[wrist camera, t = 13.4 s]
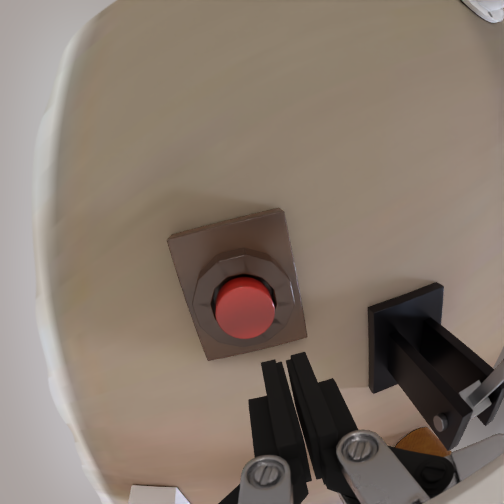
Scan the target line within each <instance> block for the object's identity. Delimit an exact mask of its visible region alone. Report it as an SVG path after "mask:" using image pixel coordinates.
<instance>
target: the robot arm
mask: <svg viewBox="0 0 504 504" xmlns="http://www.w3.org/2000/svg"><path fill="white" fill-rule="evenodd" d="M462 1H463V2H464V3H465V4H466V5H467V6H468V7H469V8H470V9H471V10H472V11H474V12H475V13H476V14H477V15H479V16H480V17H482V18H483V19H485V20H487V21H489V22H492V23H496V22H499V21H501V20H502V19H503V16H504V12H503V7H504V0H462ZM286 363H287V368H288V373H289V377H290V382H291V387H292V392H293V397H294V401H295V406H296V410H297V414H298V417H297V414H296V410H295V407H294V403H293V400H292V396H291V393H290V389H289V386H288V382H287V379H286V375H285V372H284V368H283V365H282V362H278V363H276V361H275V360H270V361H266V362H262V363H261V366H262V371H263V377H264V382H265V388H266V393H267V396H264V397H259V398H254V399H249V411H250V420H251V429H252V438H253V446H254V455H255V458H254V459H252V460H250V461H249V462H248V463H247V464H246V465H245V467H244V468H243V470H242V474H241V482H240V484H239V485H238V486H237V487H236V488H235V489H234V490H233V491H232V492H231V493H230V494H229V495H227V496H226V497H225V498H224V499H223V500H222V501H221V502H220V503H219V504H301V502H302V501H303V500H304V499H305V498H306V496H307V495H308V494H309V493H308V488H307V484H306V482H309V481H312V479H311V474H310V469H309V464H308V459H307V453H306V448H305V443H304V439H303V435H304V438H305V442H306V445H307V449H308V452H309V456H310V459H311V463H312V466H313V470H314V473H315V476H316V479H321V478H322V479H323V483H324V485H325V484H326V486H327V489H329V490H332V491H335V492H337V493H338V495H339V497H340V499H341V501H342V502H343V504H504V434H495V435H492V436H491V437H488V438H486V439H484V440H481V441H479V442H477V443H474V444H472V445H469V446H467V447H464V448H462V449H459V450H456V451H454V452H451V454H450V455H448V456H445V457H441V456H436V455H430V454H424V453H419V452H414V451H409V450H404V449H399V448H395V447H390V446H387V444H386V443H385V442H384V441H383V439H382V438H381V437H380V436H379V435H378V434H377V433H375V432H372V431H370V430H358V428H357V426H356V424H355V422H354V420H353V418H352V415H351V413H350V411H349V409H348V407H347V405H346V403H345V401H344V399H343V397H342V395H341V393H340V391H339V389H338V386H337V384H336V382H335V381H334V379H333V378H332V379H329V380H326V381H322V382H319V383H318V382H317V379H316V377H315V375H314V372H313V370H312V367H311V365H310V363H309V360H308V358H307V355H306V353H305V352H302V353H298V354H294V355H291V359H290V360H286ZM298 418H299V421H300V424H301V428H302V431H303V435H302V431H301V428H300V424H299V421H298Z"/></svg>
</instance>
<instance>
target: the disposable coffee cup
mask: <svg viewBox="0 0 504 504" xmlns="http://www.w3.org/2000/svg"><path fill="white" fill-rule="evenodd" d="M395 448H399V449H404V450H409V451H414V452H419V453H424V454H430V455H436V456H441V457H445V456H448V455H450V454H451V451H450V450H449V451H447V449H446V448H445V447H444V445H443V444H442V442H441V441H440V440H439V439H438V438H437V437H436V436H435V435H434V434H433V433H432V432H431V431H430V430H429V428H427V427H424V428H420V429H417V430H415V431H413V432H411V433H410V434H408V435H407V436H406V437H404V438H403V439H402V440H401V441H400V442H399V443H398V444H397V445H396V447H395Z"/></svg>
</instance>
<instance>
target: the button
mask: <svg viewBox="0 0 504 504" xmlns="http://www.w3.org/2000/svg"><path fill="white" fill-rule="evenodd" d="M215 315H216V320H217V323H218V325H219V326H220V328H221V329H222V330H223V331H224V332H225V333H227V334H228V335H230V336H232V337H235V338H239V339H249V338H254V337H257V336H259V335H261V334H262V333H264V332H265V331H266V330H267V329H268V328H269V327H270V325H271V324H272V322H273V319H274V316H275V307H274V304H273V301H272V298H271V296H270V293H269V291H268V289H267V287H266V286H265V285H264V284H263V283H262V282H260V281H258V280H256V279H254V278H250V277H238V278H235V279H232V280H230V281H228V282H227V283H225V284H224V285H223V286H222V287H221V289H220V290H219V292H218V294H217V298H216V312H215Z"/></svg>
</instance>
